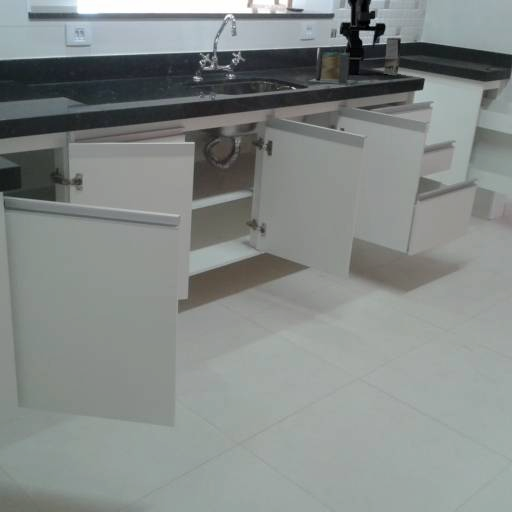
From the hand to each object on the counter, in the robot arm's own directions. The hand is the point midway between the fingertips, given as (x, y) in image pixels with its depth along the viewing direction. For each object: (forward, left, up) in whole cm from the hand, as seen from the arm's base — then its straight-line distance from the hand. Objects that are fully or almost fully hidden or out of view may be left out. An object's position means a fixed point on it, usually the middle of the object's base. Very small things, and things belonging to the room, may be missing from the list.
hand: (362, 47), depth 299 cm
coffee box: (-21, +33, -15) cm, 42 cm away
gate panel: (-8, -8, -14) cm, 18 cm away
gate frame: (-6, -11, -15) cm, 19 cm away
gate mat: (-8, -8, -15) cm, 19 cm away
